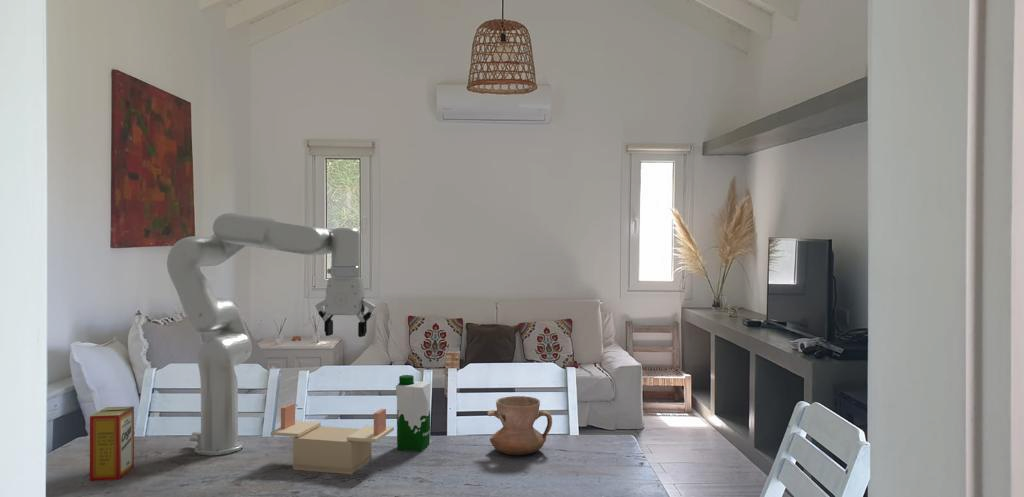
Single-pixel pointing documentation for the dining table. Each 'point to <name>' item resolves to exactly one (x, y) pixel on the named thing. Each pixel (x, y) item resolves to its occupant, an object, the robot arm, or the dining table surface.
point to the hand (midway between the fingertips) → (345, 335)
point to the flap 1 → (293, 423)
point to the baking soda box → (111, 443)
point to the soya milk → (413, 413)
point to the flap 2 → (373, 429)
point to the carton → (330, 451)
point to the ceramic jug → (519, 425)
